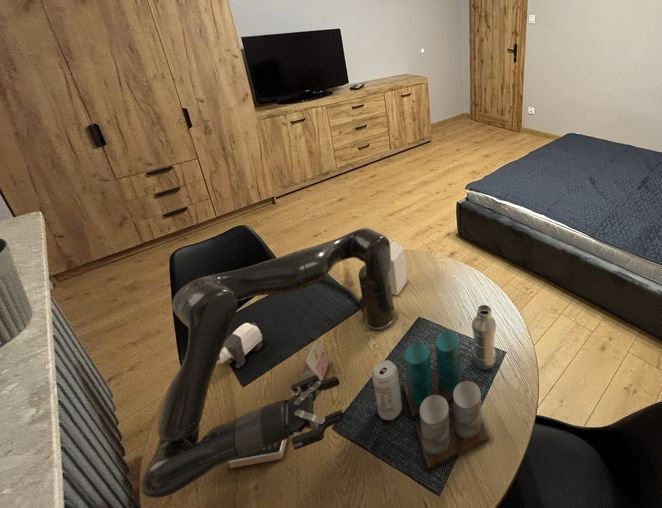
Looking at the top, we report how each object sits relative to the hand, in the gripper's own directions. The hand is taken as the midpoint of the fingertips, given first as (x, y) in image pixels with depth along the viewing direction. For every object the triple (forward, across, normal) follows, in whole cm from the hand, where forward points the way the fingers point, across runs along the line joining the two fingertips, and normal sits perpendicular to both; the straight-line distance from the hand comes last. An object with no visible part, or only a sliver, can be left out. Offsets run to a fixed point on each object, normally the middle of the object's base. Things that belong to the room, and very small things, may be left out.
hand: (341, 396), depth 85 cm
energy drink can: (+10, 0, +12) cm, 16 cm away
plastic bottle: (+38, +2, +12) cm, 40 cm away
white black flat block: (-20, +3, +12) cm, 23 cm away
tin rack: (+22, -12, +12) cm, 28 cm away
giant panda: (-26, +33, +12) cm, 44 cm away
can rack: (+22, 0, +12) cm, 25 cm away
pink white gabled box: (-6, +17, +12) cm, 22 cm away
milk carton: (+22, +43, +12) cm, 50 cm away
